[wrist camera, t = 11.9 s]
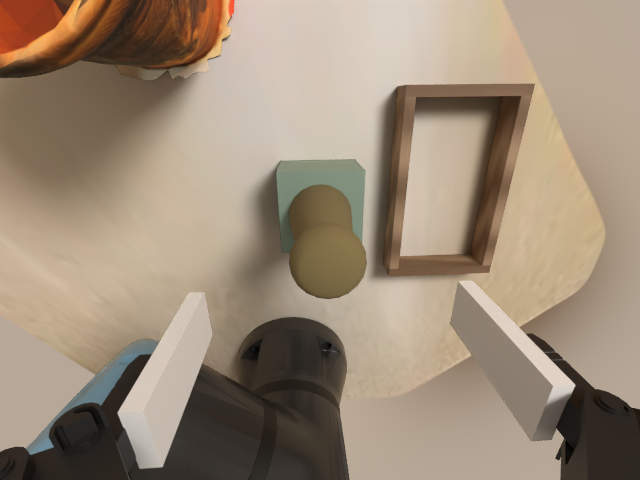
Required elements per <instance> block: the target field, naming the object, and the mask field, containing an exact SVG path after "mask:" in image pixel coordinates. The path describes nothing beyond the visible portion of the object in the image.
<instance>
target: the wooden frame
mask: <svg viewBox="0 0 640 480" xmlns="http://www.w3.org/2000/svg"><path fill="white" fill-rule="evenodd" d="M534 85H535V84H455V85H404V86H398V87H397V95H396V108H395V120H394V132H393V145H392V157H391V170H390V182H389V194H388V207H387V219H386V231H385V244H384V256H383V265H384V267H385V269H386V271H387V273H388V275H389V276H414V275H440V274H466V273H489V271H490V267H491V263H492V259H493V254H494V250H495V246H496V242H497V238H498V234H499V230H500V226H501V221H502V217H503V213H504V209H505V205H506V201H507V197H508V193H509V188H510V184H511V180H512V176H513V172H514V168H515V164H516V160H517V155H518V151H519V147H520V143H521V139H522V135H523V131H524V127H525V123H526V118H527V114H528V110H529V106H530V102H531V98H532V94H533V90H534ZM498 96H503V97H502V101H501V106H500V111H499V116H498V121H497V125H496V130H495V135H494V140H493V145H492V150H491V154H490V159H489V164H488V169H487V174H486V178H485V183H484V188H483V193H482V198H481V203H480V207H479V212H478V217H477V222H476V227H475V231H474V236H473V241H472V246H471V251H470V254H457V255H429V256H401V257H400V247H401V238H402V228H403V219H404V209H405V199H406V190H407V180H408V171H409V161H410V152H411V142H412V132H413V123H414V113H415V104H416V97H498Z"/></svg>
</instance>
